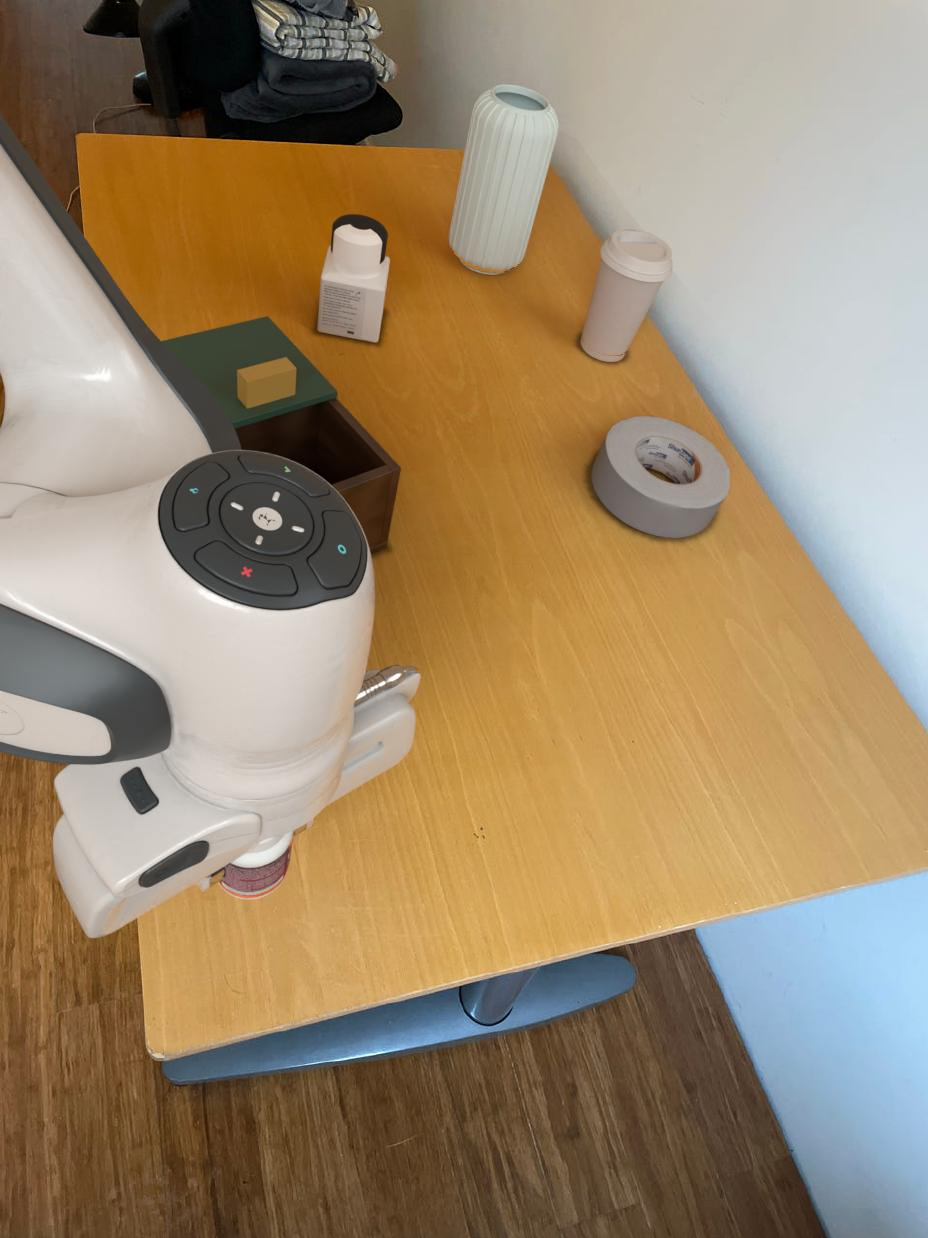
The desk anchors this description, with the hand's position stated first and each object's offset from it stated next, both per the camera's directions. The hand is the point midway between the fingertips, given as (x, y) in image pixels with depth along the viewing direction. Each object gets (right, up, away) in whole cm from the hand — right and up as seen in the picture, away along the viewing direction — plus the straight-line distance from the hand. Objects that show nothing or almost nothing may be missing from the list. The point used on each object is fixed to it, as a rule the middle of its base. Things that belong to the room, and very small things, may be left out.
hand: (251, 848), depth 51 cm
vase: (+16, +68, +71) cm, 99 cm away
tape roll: (+35, +29, +47) cm, 66 cm away
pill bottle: (-1, -2, +2) cm, 3 cm away
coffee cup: (+32, +52, +63) cm, 88 cm away
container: (-2, +53, +55) cm, 76 cm away
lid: (-8, +37, +27) cm, 47 cm away
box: (-4, +23, +32) cm, 40 cm away
